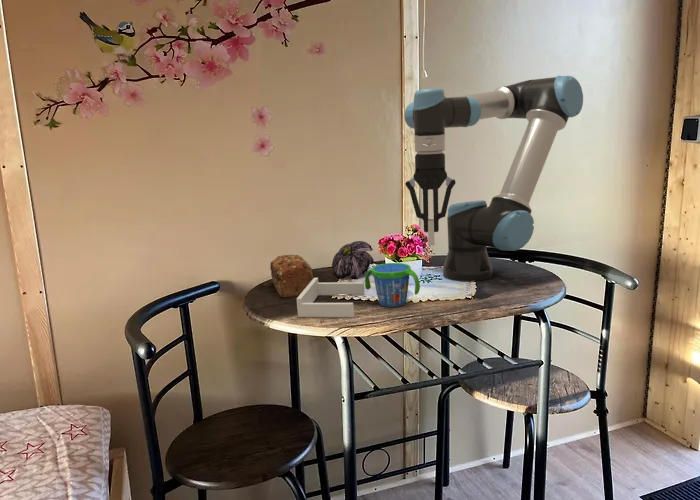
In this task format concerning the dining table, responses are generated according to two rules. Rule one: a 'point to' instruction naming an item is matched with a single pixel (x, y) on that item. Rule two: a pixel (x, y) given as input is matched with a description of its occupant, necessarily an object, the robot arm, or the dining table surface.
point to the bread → (290, 275)
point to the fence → (327, 309)
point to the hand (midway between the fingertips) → (431, 244)
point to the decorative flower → (352, 260)
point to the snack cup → (392, 283)
